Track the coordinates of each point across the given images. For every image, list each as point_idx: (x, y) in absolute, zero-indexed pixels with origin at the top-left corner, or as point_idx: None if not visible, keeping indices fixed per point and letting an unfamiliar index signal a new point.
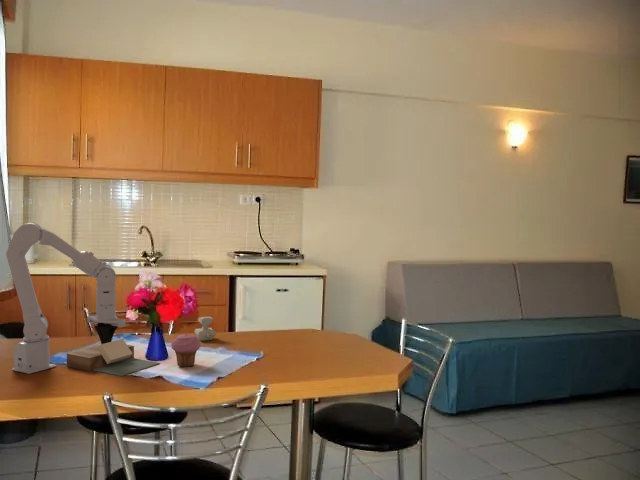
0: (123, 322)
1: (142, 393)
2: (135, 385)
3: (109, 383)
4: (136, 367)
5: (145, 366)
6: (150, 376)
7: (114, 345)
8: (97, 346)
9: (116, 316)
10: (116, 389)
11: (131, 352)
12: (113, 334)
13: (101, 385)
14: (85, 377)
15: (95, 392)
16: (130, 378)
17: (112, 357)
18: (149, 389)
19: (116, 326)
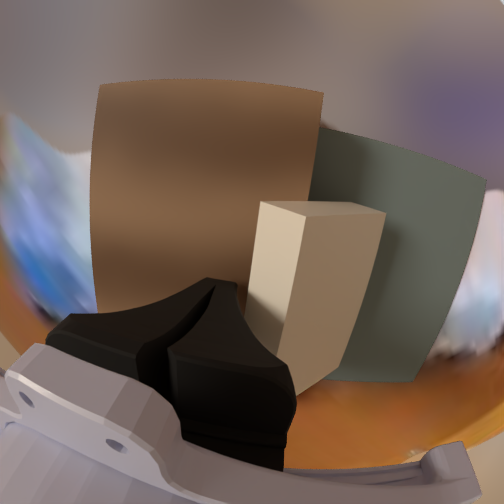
0: (458, 494)
1: (480, 421)
2: (463, 404)
3: (398, 426)
4: (431, 285)
5: (458, 256)
6: (490, 337)
7: (307, 329)
8: (102, 223)
9: (92, 423)
10: (428, 437)
11: (381, 216)
12: (248, 328)
13: (383, 440)
14: (299, 422)
15: (389, 461)
16: (442, 378)
17: (337, 356)
18: (491, 402)
19: (292, 404)
